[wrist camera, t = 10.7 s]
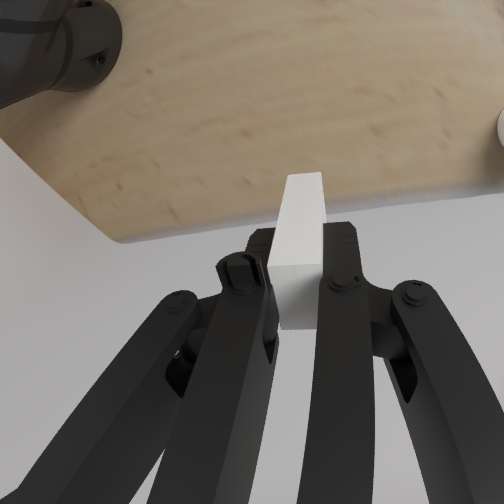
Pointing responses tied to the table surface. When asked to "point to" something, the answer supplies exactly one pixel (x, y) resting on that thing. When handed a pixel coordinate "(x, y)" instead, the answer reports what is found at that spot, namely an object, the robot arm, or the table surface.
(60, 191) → the table surface
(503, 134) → the pill bottle
